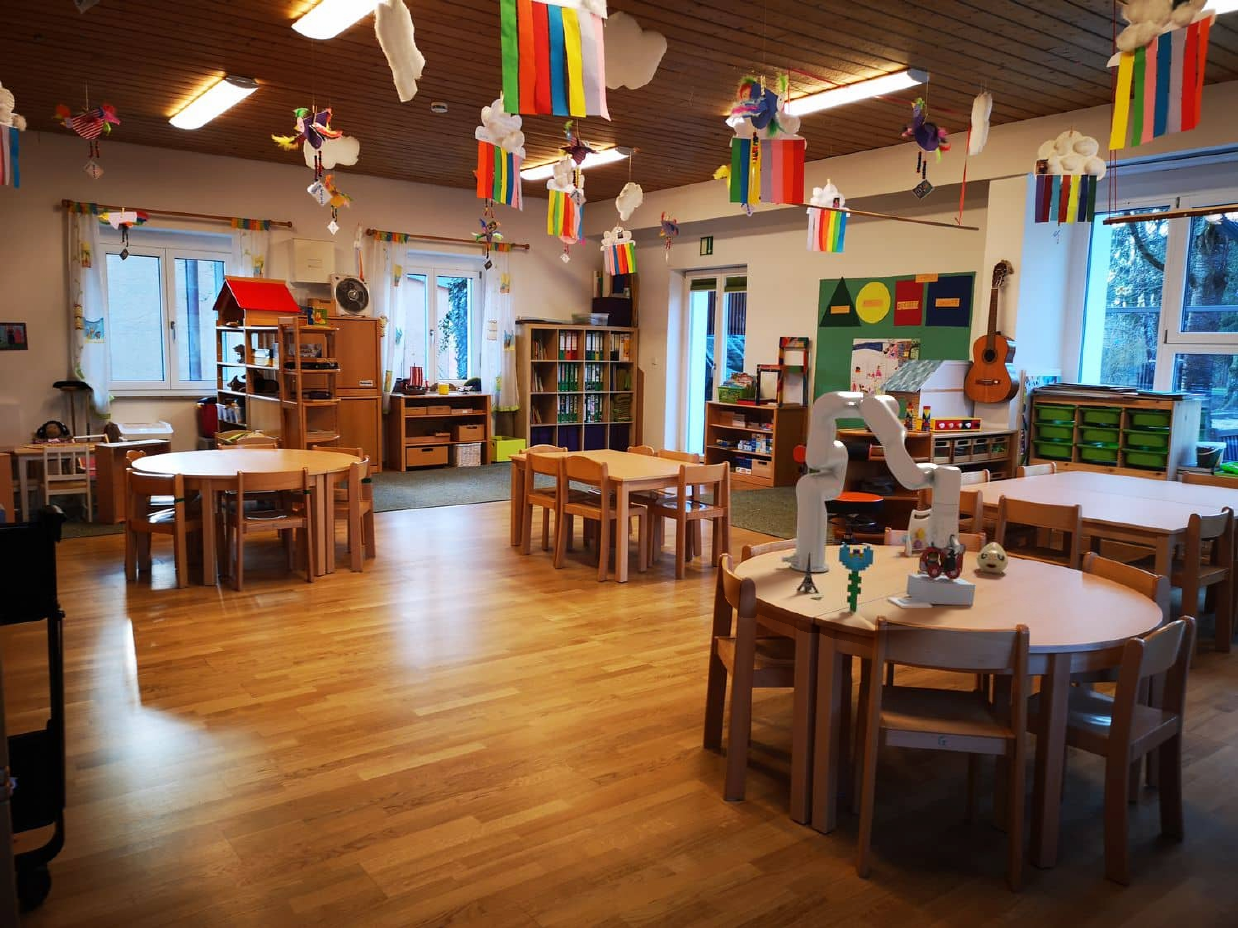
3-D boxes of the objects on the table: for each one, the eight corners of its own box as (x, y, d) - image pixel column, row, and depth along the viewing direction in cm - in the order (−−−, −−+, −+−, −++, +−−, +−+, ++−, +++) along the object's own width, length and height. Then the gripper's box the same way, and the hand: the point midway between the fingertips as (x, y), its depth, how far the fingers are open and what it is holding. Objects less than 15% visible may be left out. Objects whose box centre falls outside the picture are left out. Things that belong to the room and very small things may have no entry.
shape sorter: (933, 552, 330) (936, 506, 328) (953, 558, 320) (956, 510, 318) (890, 555, 322) (893, 507, 321) (909, 561, 313) (913, 512, 311)
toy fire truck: (916, 572, 262) (919, 537, 261) (960, 575, 260) (963, 540, 259) (920, 577, 255) (922, 542, 254) (965, 580, 253) (968, 545, 252)
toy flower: (869, 615, 239) (873, 550, 237) (835, 612, 242) (839, 548, 240) (870, 607, 248) (873, 544, 246) (837, 604, 250) (840, 542, 248)
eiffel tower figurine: (819, 601, 255) (822, 556, 253) (785, 597, 259) (787, 552, 258) (831, 591, 268) (833, 548, 267) (798, 586, 273) (800, 544, 271)
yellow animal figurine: (974, 575, 292) (976, 544, 291) (976, 568, 303) (978, 538, 302) (1006, 579, 288) (1009, 547, 287) (1007, 572, 299) (1009, 541, 298)
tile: (902, 608, 248) (902, 604, 248) (887, 599, 257) (887, 596, 257) (931, 607, 250) (932, 604, 250) (916, 599, 259) (916, 596, 258)
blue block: (925, 603, 251) (927, 582, 251) (906, 593, 262) (908, 574, 262) (972, 605, 254) (975, 584, 254) (952, 595, 265) (954, 575, 264)
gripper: (918, 504, 263) (914, 560, 265) (949, 513, 246) (944, 574, 248) (941, 504, 265) (937, 560, 266) (973, 513, 248) (969, 574, 249)
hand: (940, 567), depth 257 cm, fingers closed on toy fire truck, 8 cm apart
